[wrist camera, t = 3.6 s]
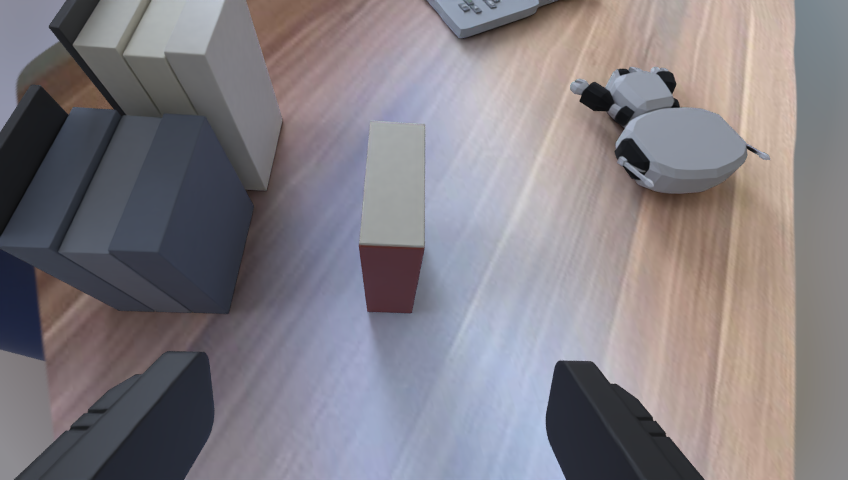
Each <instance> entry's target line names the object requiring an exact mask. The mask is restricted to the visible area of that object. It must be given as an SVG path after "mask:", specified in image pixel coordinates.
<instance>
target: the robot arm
mask: <svg viewBox="0 0 848 480" xmlns="http://www.w3.org/2000/svg"><path fill="white" fill-rule="evenodd" d="M213 422H214V400H213V391H212V383H211V374H210V365H209V359H208V356H207V354H206V353H205V352H185V351H167V352H165V353H164V354H162V355H161V356H160V357H159V358H158V359H157V360H156V361H155V362H154V363H153V364H152V365H151V366H150V367H149V368H148V369H147V370H146V371H145V372H144V373H143V374H136V375H134V376H132V377H131V378H129V379H127V380H125V381H124V382H122V383H120V384H119V385H117V386H115V387H113V388H112V389H110V390H108V391H107V392H106V393H105V394H104V395H103V396H102V397H101V398H100V399H99V400H98V401H97V402H96V403H95V404H94V405H93V406H91V407H90V408H89V409H88V413H84V414H83V415H82V416H81V417H80V418H79V419H78V420H77V421H76V422H74V423H73V424H72V425H71V428H70V430H69V431H65V432H64V433H63V434H62V435H61V436H60V437H59V438H58V439H56V440H55V441H54V442H53V443H52V444H51V445H50V446H49V447H48V448H47V449H46V450H45V451H44V452H43V453H42V454H41V455H40V456H39V457H37V458H36V459H35V460H34V461H33V462H32V463H31V464H30V465H29V466H28V467H27V468H26V469H25V470H24V471H23V472H21V473H20V475H18V476H17V477H16V478H15V479H14V480H184V479H185V477H186V475H187V474H188V472H189V470H190V468H191V467H192V465H193V463H194V462H195V460H196V458H197V457H198V455H199V453H200V452H201V450H202V448H203V447H204V445H205V443H206V442H207V440H208V438H209V435H210V433H211V430H212V426H213ZM546 430H547V436H548V440H549V443H550V445H551V447H552V450H553V452H554V454H555V456H556V458H557V461H558V463H559V465H560V467H561V469H562V472H563V474H564V476H565V478H566V480H704V478H703V477H702V476H701V475H700V474H699V472H698V471H697V470H696V469H695V468H694V466H693V465H692V464H691V463H690V462H689V460H688V459H687V458H686V457H685V456H684V454H683V453H682V452H681V451H680V449H679V448H678V447H677V446H676V445H675V443H674V442H673V441H672V440H671V439H670V437H666V433H665V431H664V430H663V429H662V428H661V427H660V425H659V424H658V423H657V422H656V421H653V417H652V416H651V415H650V413H649V412H648V411H647V410H646V409H645V407H644V406H643V405H642V404H641V403H640V401H639V400H638V399H637V398H635V397H634V396H633V395H631V394H630V393H628V392H627V391H626V390H624V389H623V388H621V387H620V386H619V385H617V384H610V383H609V381H608V380H607V379H606V378H605V376H604V375H603V374H602V372H601V371H600V370H599V369H598V367H597V366H596V365H595V364H594V363H593V362H591V361H558V362H557V363H556V365H555V369H554V374H553V379H552V385H551V390H550V396H549V401H548V406H547V412H546Z"/></svg>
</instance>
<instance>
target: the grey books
mask: <svg viewBox="0 0 848 480" xmlns="http://www.w3.org/2000/svg"><path fill="white" fill-rule="evenodd" d="M253 208H254V205H253V203H252V202H251V200H250V198H249V196H248V194H247V192H246V190H245V189H244V187H243V185H242V183H241V181H240V179H239V177H238V176H237V174H236V172H235V170H234V168H233V166H232V164H231V163H230V161H229V159H228V157H227V155H226V153H225V151H224V150H223V148H222V146H221V144H220V142H219V140H218V138H217V136H216V135H215V133H214V131H213V129H212V127H211V125H210V123H209V122H208V120H207V118H206V116H199V115H184V114H168V113H164V114H163V117H162V118H159V117H143V116H127V115H123V116H121V115H120V114H119V113H118V111H117V110H110V109H94V108H79V107H73V108H72V110H71V112H70V114H69V115H68V114H67V113H66V112H65V111H64V110H63V109H62V108H61V106H60V105H59V104H58V103H57V102H56V101H55V100H54V99H53V98H52V97H51V96H50V95H49V94H48V93H47V92H46V91H45V90H44V88H43V87H42V86H40V85H31V86H30V87H29V89H28V90H27V92H26V93H25V95H24V96H23V98H22V99H21V101H20V102H19V104H18V106H17V107H16V109H15V110H14V112H13V113H12V115H11V117H10V118H9V120H8V121H7V122H6V124H5V126H4V127H3V129H2V130H1V132H0V249H2V250H4V251H6V252H8V253H10V254H12V255H14V256H15V257H17V258H19V259H21V260H23V261H25V262H27V263H29V264H31V265H33V266H35V267H36V268H38V269H40V270H42V271H44V272H46V273H48V274H50V275H52V276H54V277H56V278H58V279H59V280H61V281H63V282H65V283H67V284H69V285H71V286H73V287H75V288H77V289H79V290H80V291H82V292H84V293H86V294H88V295H90V296H92V297H94V298H96V299H98V300H100V301H101V302H103V303H105V304H107V305H109V306H111V307H113V308H115V309H117V310H119V311H148V312H154V311H156V312H183V313H192V312H194V313H219V314H228V313H229V309H230V305H231V301H232V297H233V293H234V288H235V284H236V280H237V276H238V271H239V267H240V263H241V259H242V255H243V250H244V246H245V242H246V238H247V234H248V229H249V225H250V221H251V217H252V213H253Z"/></svg>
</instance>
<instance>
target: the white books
mask: <svg viewBox="0 0 848 480" xmlns="http://www.w3.org/2000/svg"><path fill="white" fill-rule="evenodd" d="M49 28H50V29H51V31H52V32H53V33H54V34H55V36H56V37H57V38H58V40H59V41H60V42H61V43H62V45H63V46H64V47H65V48H66V50H67V51H68V52H69V53H70V55H71V56H72V57H73V58H74V60H75V61H76V62H77V63H78V65H79V66H80V67H81V68H82V70H83V71H84V72H85V73H86V75H87V76H88V77H89V78H90V80H91V81H92V82H93V84H94V85H95V86H96V87H97V89H98V90H99V91H100V92H101V94H102V95H103V96H104V97H105V99H106V100H107V101H108V102H109V104H110V105H111V106H112V107H113V109H114V110H117V111H118V113H119V114H120V115H121V116H123V115H127V116H143V117H159V118H162V117H163V114H164V113H168V114H184V115H199V116H206V118H207V120H208V122H209V123H210V125H211V127H212V129H213V131H214V133H215V135H216V136H217V138H218V140H219V142H220V144H221V146H222V148H223V150H224V151H225V153H226V155H227V157H228V159H229V161H230V163H231V164H232V166H233V168H234V170H235V172H236V174H237V176H238V177H239V179H240V181H241V183H242V185H243V187H244V189H245V190H261V191H266V190H267V186H268V182H269V177H270V173H271V168H272V164H273V160H274V155H275V151H276V146H277V142H278V137H279V133H280V129H281V124H282V120H283V119H282V116H281V112H280V109H279V106H278V103H277V99H276V96H275V93H274V90H273V86H272V83H271V80H270V77H269V74H268V70H267V67H266V64H265V61H264V57H263V54H262V51H261V48H260V45H259V41H258V38H257V35H256V32H255V28H254V25H253V22H252V19H251V15H250V12H249V9H248V6H247V3H246V0H66V2H65V3H64V5H63V6H62V7H61V9H60V11H59V12H58V13H57V15H56V16H55V18H54V19H53V21H52V22H51V23H50V25H49Z"/></svg>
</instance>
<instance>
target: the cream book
mask: <svg viewBox="0 0 848 480" xmlns="http://www.w3.org/2000/svg"><path fill="white" fill-rule="evenodd" d="M424 240H425V124H413V123H398V122H383V121H370V129H369V140H368V151H367V162H366V173H365V185H364V196H363V207H362V218H361V229H360V240H359V250H360V258H361V266H362V274H363V282H364V289H365V297H366V305H367V312H389V313H412V310H413V305H414V300H415V295H416V290H417V285H418V280H419V274H420V269H421V264H422V259H423V254H424V248H425V241H424Z"/></svg>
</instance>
